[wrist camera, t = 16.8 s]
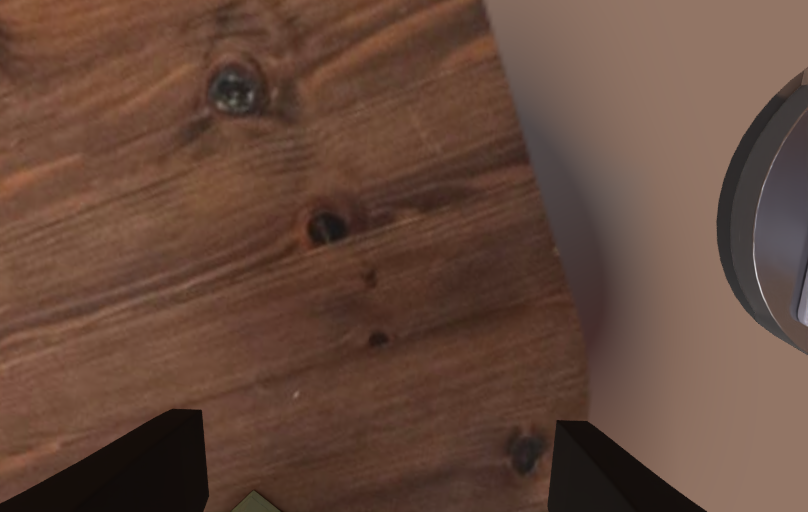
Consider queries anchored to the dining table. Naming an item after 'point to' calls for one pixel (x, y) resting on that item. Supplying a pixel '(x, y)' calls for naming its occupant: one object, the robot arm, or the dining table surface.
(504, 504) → the dining table surface
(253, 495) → the desk tidy
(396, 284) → the dining table surface
